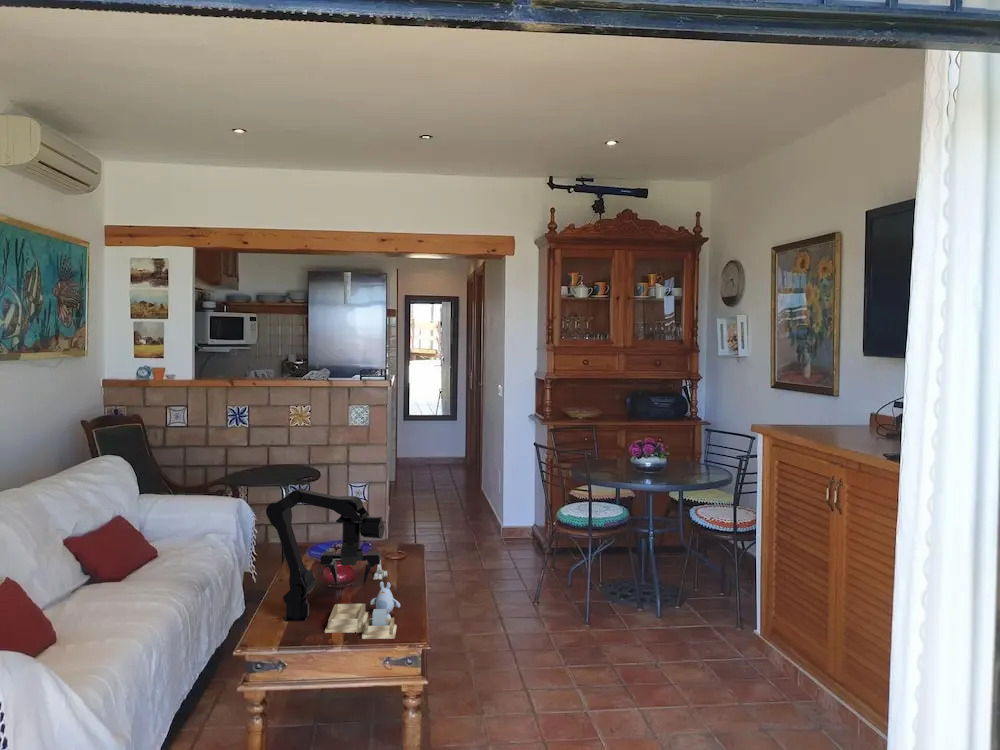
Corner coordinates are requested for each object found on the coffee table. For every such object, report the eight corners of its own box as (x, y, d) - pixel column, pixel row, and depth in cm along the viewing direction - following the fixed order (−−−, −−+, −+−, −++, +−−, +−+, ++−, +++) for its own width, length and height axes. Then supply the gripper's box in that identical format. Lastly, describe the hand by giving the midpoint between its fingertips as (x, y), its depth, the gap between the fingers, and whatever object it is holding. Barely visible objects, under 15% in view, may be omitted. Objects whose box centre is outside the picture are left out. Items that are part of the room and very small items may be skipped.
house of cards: (394, 583, 288) (395, 563, 287) (371, 583, 287) (372, 563, 287) (397, 576, 297) (397, 557, 296) (374, 576, 296) (374, 557, 296)
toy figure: (366, 619, 248) (366, 583, 248) (373, 613, 254) (374, 577, 254) (396, 622, 246) (396, 586, 245) (403, 616, 252) (403, 580, 251)
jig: (322, 639, 231) (322, 626, 231) (332, 615, 252) (332, 603, 252) (394, 638, 232) (394, 625, 232) (398, 614, 253) (398, 602, 253)
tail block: (372, 632, 234) (372, 613, 234) (373, 627, 238) (373, 609, 238) (385, 632, 235) (385, 613, 234) (386, 627, 239) (386, 608, 238)
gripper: (318, 542, 235) (317, 592, 235) (378, 542, 237) (377, 592, 237) (323, 534, 246) (322, 581, 246) (381, 534, 248) (380, 581, 248)
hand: (350, 584), depth 244 cm, fingers open, 9 cm apart
